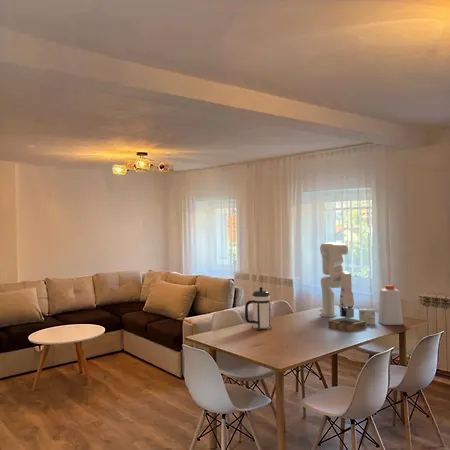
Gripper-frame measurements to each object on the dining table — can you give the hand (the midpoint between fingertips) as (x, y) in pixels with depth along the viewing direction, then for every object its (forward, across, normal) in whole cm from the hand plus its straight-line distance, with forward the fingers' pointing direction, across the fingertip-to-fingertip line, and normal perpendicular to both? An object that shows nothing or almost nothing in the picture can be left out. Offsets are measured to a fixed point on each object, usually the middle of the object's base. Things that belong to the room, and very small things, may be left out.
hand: (346, 315), depth 316 cm
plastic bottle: (+9, +36, -10) cm, 39 cm away
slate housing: (+1, 0, 0) cm, 1 cm away
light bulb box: (+9, +22, 0) cm, 24 cm away
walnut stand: (+9, 0, 0) cm, 9 cm away
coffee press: (+9, -50, +36) cm, 62 cm away
